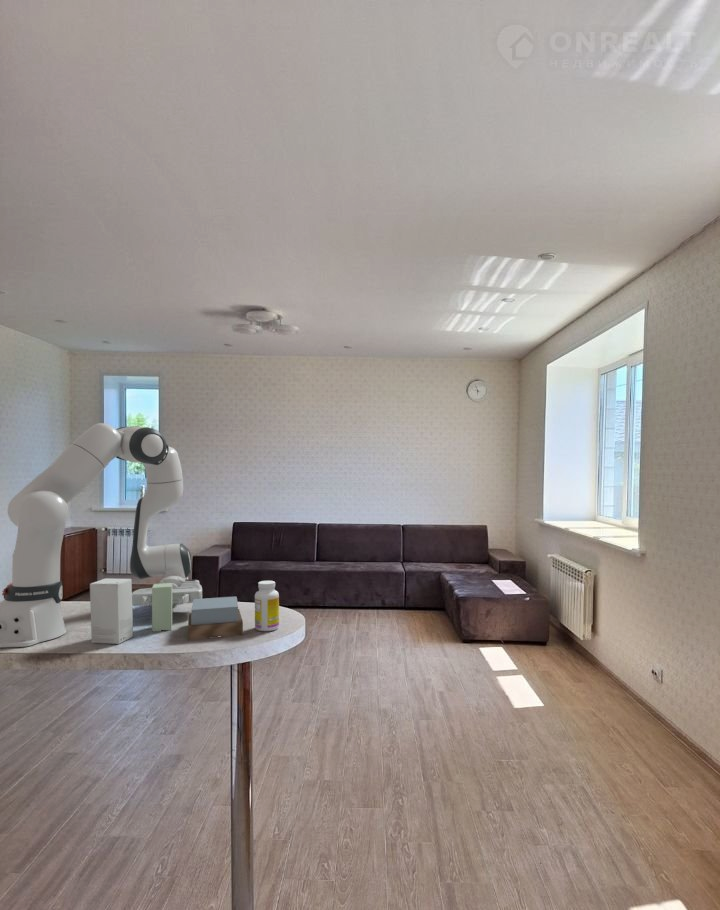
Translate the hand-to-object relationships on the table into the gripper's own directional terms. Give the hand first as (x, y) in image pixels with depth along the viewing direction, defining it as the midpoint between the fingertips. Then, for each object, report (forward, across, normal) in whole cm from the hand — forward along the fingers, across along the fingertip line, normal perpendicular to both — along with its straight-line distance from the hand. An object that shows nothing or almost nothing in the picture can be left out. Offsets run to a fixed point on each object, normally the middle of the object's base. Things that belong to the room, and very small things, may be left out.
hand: (163, 602), depth 153 cm
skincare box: (+11, -11, +7) cm, 17 cm away
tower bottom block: (+8, +15, +7) cm, 18 cm away
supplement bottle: (+10, +29, +7) cm, 31 cm away
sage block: (+3, 0, +6) cm, 7 cm away
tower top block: (+8, +15, +3) cm, 17 cm away
